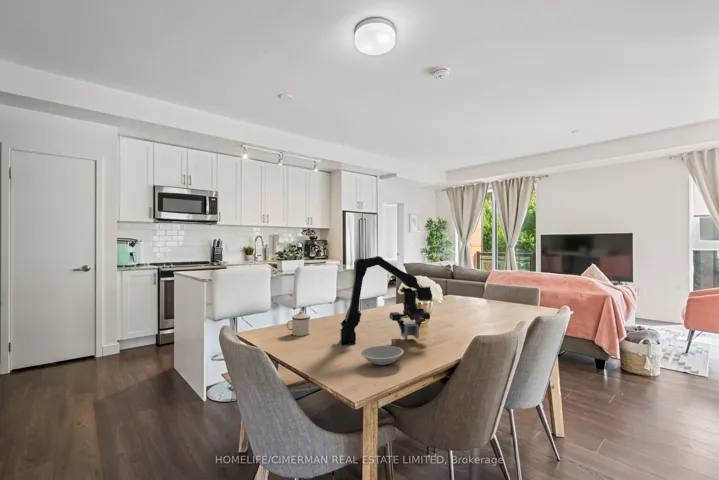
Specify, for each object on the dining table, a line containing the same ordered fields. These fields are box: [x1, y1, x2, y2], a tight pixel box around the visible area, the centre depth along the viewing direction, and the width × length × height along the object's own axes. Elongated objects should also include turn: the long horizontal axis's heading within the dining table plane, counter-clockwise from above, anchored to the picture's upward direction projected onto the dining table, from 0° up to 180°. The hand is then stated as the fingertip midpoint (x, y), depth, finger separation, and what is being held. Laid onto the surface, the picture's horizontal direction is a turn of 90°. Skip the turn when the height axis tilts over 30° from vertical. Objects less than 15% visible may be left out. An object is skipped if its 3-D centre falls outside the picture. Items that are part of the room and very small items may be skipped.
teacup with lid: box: [285, 310, 311, 337], centre depth 176 cm, size 12×9×12 cm
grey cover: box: [400, 320, 420, 340], centre depth 166 cm, size 7×7×6 cm
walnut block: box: [390, 338, 404, 350], centre depth 153 cm, size 4×4×4 cm
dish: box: [360, 345, 405, 366], centre depth 134 cm, size 18×14×5 cm
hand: (409, 333), depth 166 cm, fingers closed on grey cover, 7 cm apart
